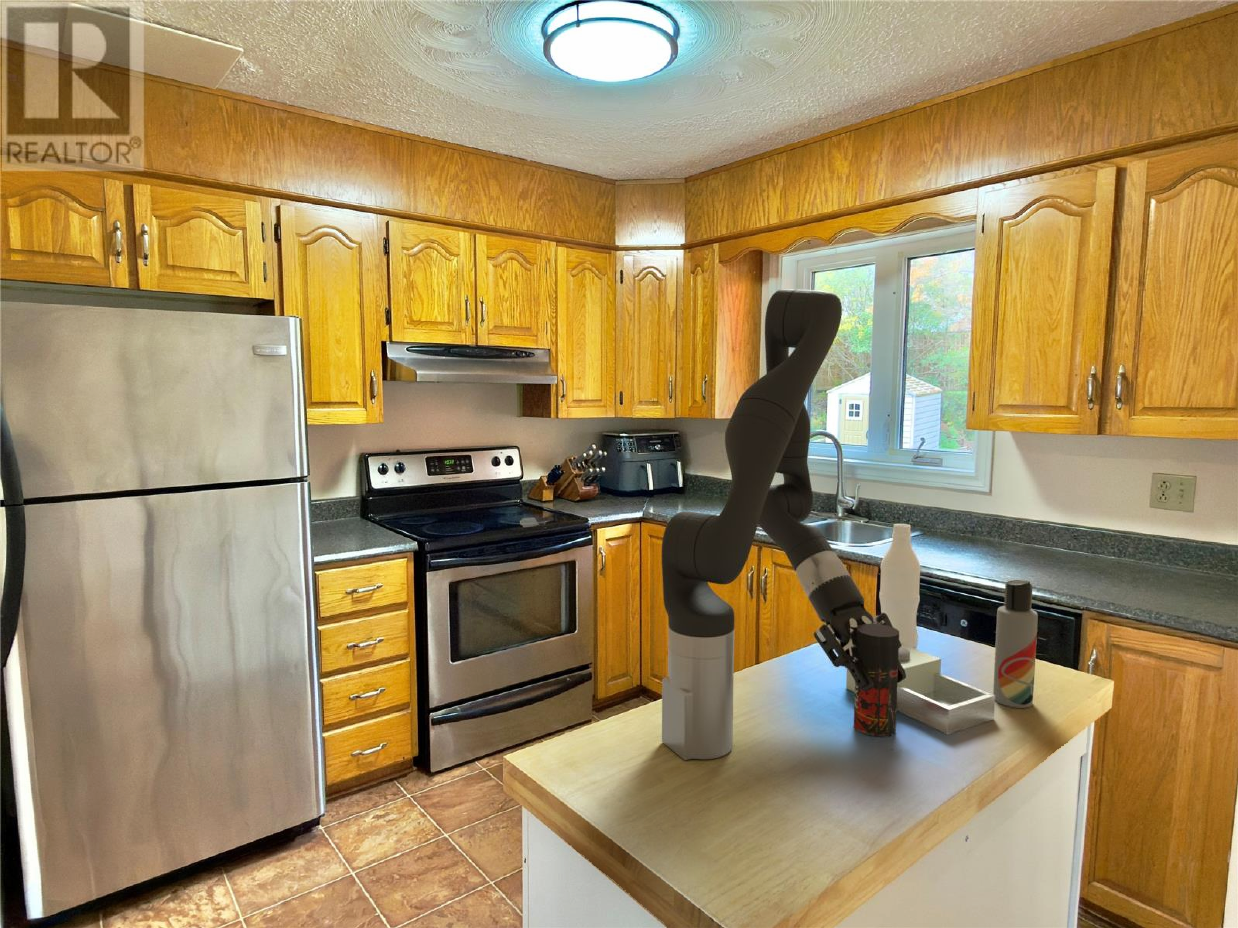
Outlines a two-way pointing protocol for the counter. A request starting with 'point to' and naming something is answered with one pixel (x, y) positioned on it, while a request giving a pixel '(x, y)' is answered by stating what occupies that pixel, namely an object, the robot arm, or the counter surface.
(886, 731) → the deodorant
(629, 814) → the counter surface
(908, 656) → the cream rectangular block
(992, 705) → the white open box
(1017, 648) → the lotion bottle
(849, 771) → the counter surface
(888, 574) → the water bottle
